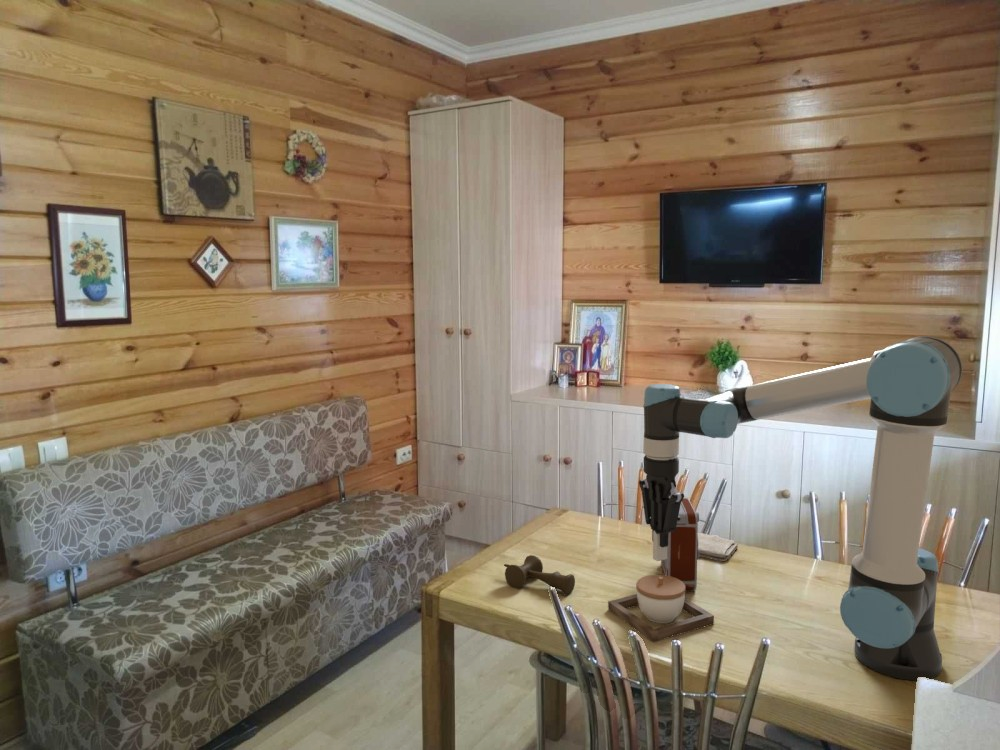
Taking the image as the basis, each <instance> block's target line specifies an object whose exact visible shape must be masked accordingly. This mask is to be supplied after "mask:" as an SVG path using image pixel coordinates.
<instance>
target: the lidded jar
mask: <svg viewBox="0 0 1000 750" xmlns="http://www.w3.org/2000/svg"><path fill="white" fill-rule="evenodd" d="M635 584H636V594H637V599H638V604H639V605H638V606H639V609H640V610H641V612H642V613H643V614H644V615H645V616H646V619H647V620H648V621H650V620H651V621H650V622H652V621H653V622H652V623H655V622H657V623H656V624H661V623H665V624H669V623H668V622H670V623H673V622H674V620H675V619H676V618H677V617H678V616H680V614H681V613H682V611H683V605H684V600H685V598H686V591H685V584H684V583H683V582H682V581H681V580H679V579H677V578H674V577H671V576H667V575H663V574H649V575H644V576H642V577H640V578H639V579H638V580H637V581H636V583H635Z"/></svg>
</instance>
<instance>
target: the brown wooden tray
mask: <svg viewBox="0 0 1000 750" xmlns="http://www.w3.org/2000/svg"><path fill="white" fill-rule="evenodd" d="M607 603H608V606H607V609H608V611H610V612H611V613H612V614H614V615H615V616H616V617H617V618H619V619H620V618H621V619H620V620H622V621H623V622H624V621H625V622H624V623H625V624H627V623H628V624H629V627H631V628H632V627H633V629H634V628H635V629H636V630H635V629H634V630H635V631H637V632H638V631H639V632H640V633H639V632H638V633H639V634H641V635H642V636H643V637H645V638H647V640H649V641H650V642H652V643H655V642H659V641H662V640H665V639H664V638H666V639H668V638H667V637H669V638H672V637H675V636H674V635H676V636H677V634H679V635H681V634H680V633H682V634H685V633H684V632H686V633H689V632H691V631H695V630H694V629H696V630H698V629H697V628H699V629H701V627H702V628H705V627H704V626H706V627H708V626H707V625H709V626H711V625H710V624H712V625H714V624H713V623H714V622H715V615H714V614H712V613H711V612H709V611H708V610H705V609H704V608H702V607H700V606H699V605H697V604H696V603H694V602H693V601H692V600H689V599H687V598H686V597H685V600H684V605H683V609H682V611H684V610H685V612H686V611H687V612H686V613H688V614H689V615H690V616H692V615H693V616H692V617H689V618H687V619H682V620H680V621H675V622H671V623H667V624H666V625H665V624H664V625H662V626H659V627H658V626H657V627H655V628H654V627H652V626H651V625H649V624H648V623H647V622H645V621H644V620H643V619H641V618H640V617H638V615H635V614H634V613H633V612H631V611H630V610H629V607H630V608H633V606H634V607H636V606H639V604H638V599H637V593H636V594H631V595H628V596H624V597H623V596H622V597H620V598H616V599H612V600H608V602H607ZM628 624H627V625H628ZM688 631H689V632H688ZM672 635H673V636H672ZM671 636H672V637H671ZM661 639H662V640H661Z"/></svg>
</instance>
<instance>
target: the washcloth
mask: <svg viewBox="0 0 1000 750" xmlns="http://www.w3.org/2000/svg"><path fill="white" fill-rule="evenodd" d="M713 540H714V541H713ZM738 545H739V544H738V543H736V542H735V540H733V539H727V538H723V537H720V536H719V535H717V534H706V533H702V532H698V549H699V556H702V557H701V558H704V557H707V558H706V559H708V558H712V559H711V560H713V559H716V560H715V561H718V560H720V561H719V562H722V561H725V562H726V561H727V559H728V560H730V558H731V557H732V556H731V554H732V555H733V554H734V553H735V552H736V551H737V550H738V548H739V547H738ZM736 549H737V550H736ZM735 550H736V551H735ZM730 556H731V557H730ZM729 557H730V558H729Z"/></svg>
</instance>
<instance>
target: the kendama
mask: <svg viewBox="0 0 1000 750" xmlns="http://www.w3.org/2000/svg"><path fill="white" fill-rule="evenodd" d="M503 566H504V567H505V570H504V579H505V581H506V583H507V585H509V587H511V588H514V589H518V590H519V589H522V588H524V585H525V583H526V579H527V578H528V577H532V578H535V579H537V580H539V581H541V582H543V583H545V584H547V585H548V586H549V587H550V586H552V587H555V588H556V589H555V590H559V591H560V592H562V594H563V595H565V596H569V595H570V594H572V592H573V591H574V588H575V584H576V577H575V576H574V574H572V573H570V574H567V575H564V574H561V573H560V572H559V571H555V572H552V573H551V572H543V570H544V569H543V568H544V567H543V562H542V560H541V558H540V557H538V556H535V555H531V554H530V555H527V556H526V557H525V559H524V562H523V564H522V565H517V564H507V563H505V564H503Z"/></svg>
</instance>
